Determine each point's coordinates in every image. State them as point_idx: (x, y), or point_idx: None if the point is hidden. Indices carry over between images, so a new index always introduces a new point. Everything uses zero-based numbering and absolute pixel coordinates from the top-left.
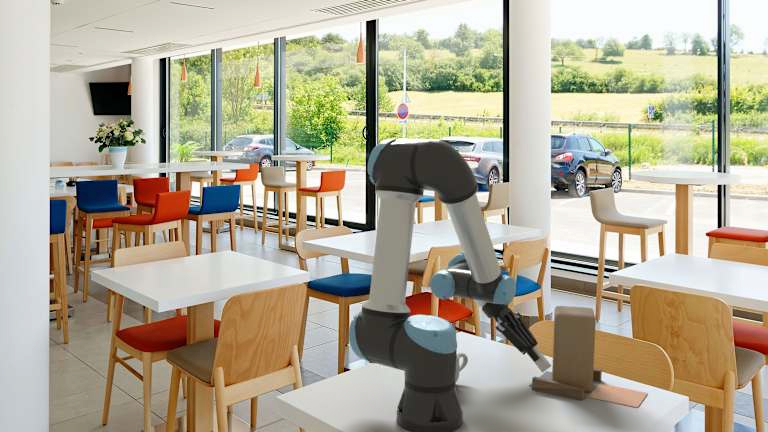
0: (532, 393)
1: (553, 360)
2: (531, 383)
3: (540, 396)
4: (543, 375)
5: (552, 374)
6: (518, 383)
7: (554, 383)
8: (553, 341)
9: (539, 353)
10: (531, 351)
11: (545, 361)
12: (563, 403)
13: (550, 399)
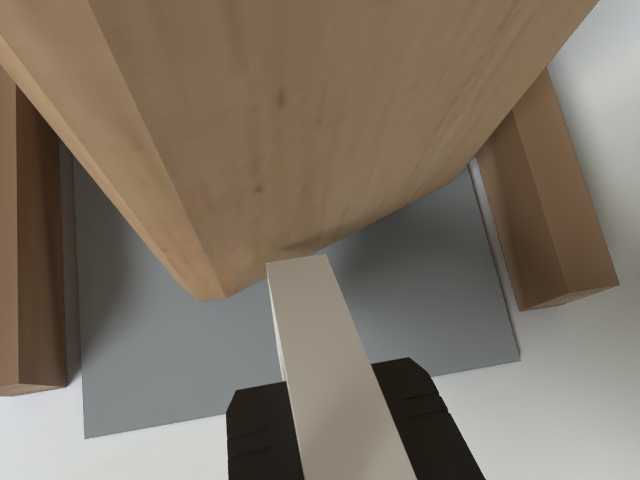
0: (617, 262)
1: (563, 44)
2: (473, 368)
3: (615, 194)
4: (222, 394)
5: (399, 193)
6: (538, 466)
7: (554, 98)
8: (307, 65)
9: (349, 380)
10: (477, 470)
11: (334, 295)
12: (588, 42)
13: (602, 124)
